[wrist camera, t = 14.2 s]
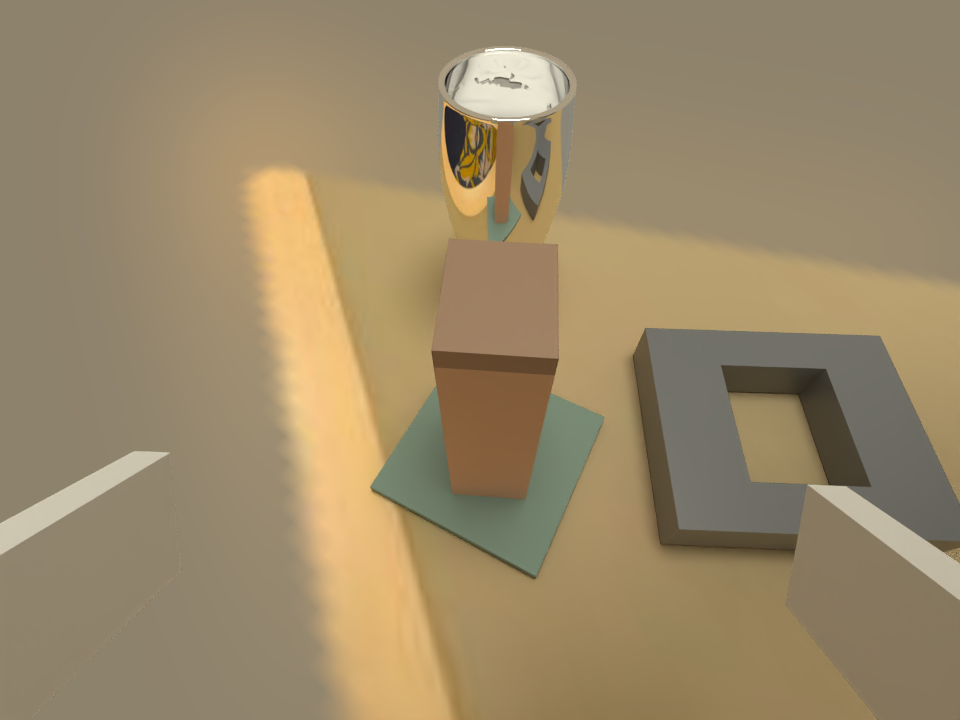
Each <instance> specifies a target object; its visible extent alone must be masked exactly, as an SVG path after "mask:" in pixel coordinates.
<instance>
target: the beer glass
mask: <svg viewBox="0 0 960 720" xmlns="http://www.w3.org/2000/svg"><path fill="white" fill-rule="evenodd" d="M438 89H439V110H438V147H439V163H440V172H441V182H442V187H443V192H444V197H445V201H446V206H447V209H448V213H449V217H450V220H451V224H452V227H453V230H454V234H455V237H456V239H467V240H485V241H503V242H522V243H540V244H544V241H545V239H546V236H547V234H548V231H549V229H550V226H551V224H552V221H553V218H554V216H555V213H556V210H557V207H558V204H559V201H560V198H561V195H562V192H563V188H564V183H565V179H566V174H567V169H568V163H569V156H570V149H571V140H572V128H573V116H574V115H573V114H574V101H575V93H576V89H577V83H576V79H575V76H574V74H573V72H572V71H571V70H570V68H569V67H568V66H567V65H565V64H564V63H563V62H562V61H560V60H559V59H557V58H555V57H553V56H551V55H549V54H547V53H544V52H541V51H538V50H534V49H529V48H524V47H514V46H496V47H487V48H481V49H477V50H473V51H470V52H467V53H465V54H462V55H460V56H458V57H456V58H455V59H453V60H452V61H450V62H449V63H448V64H447V65H446V66H445V67H444V68H443V70H442V71H441V73H440V75H439V79H438Z"/></svg>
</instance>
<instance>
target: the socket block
mask: <svg viewBox="0 0 960 720" xmlns="http://www.w3.org/2000/svg"><path fill="white" fill-rule="evenodd" d="M633 358H634V365H635V372H636V379H637V385H638V392H639V399H640V406H641V413H642V420H643V427H644V434H645V441H646V447H647V454H648V461H649V468H650V475H651V482H652V489H653V496H654V502H655V509H656V516H657V523H658V530H659V537H660V544H668V545H691V546H714V547H736V548H759V549H782V550H795V549H796V544H797V538H798V533H799V527H800V522H801V516H802V511H803V505H804V500H805V494H806V489H807V484H785V483H760V482H750V478H749V474H748V470H747V466H746V462H745V458H744V454H743V450H742V446H741V442H740V438H739V434H738V431H737V427H736V423H735V419H734V415H733V411H732V407H731V403H730V399H729V395H728V392H753V393H781V394H799V397H800V400H801V402H802V405H803V408H804V411H805V414H806V417H807V420H808V423H809V426H810V429H811V432H812V435H813V438H814V441H815V444H816V446H817V449H818V452H819V455H820V458H821V461H822V464H823V467H824V470H825V473H826V476H827V479H828V482H829V485H828V486H846V487H848V488H849V489H851V490H852V491H854V492H855V493H857V494H858V495H860V496H861V497H863V498H864V499H865V500H867V501H868V502H870V503H871V504H873V505H874V506H876V507H877V508H879V509H880V510H882V511H883V512H885V513H886V514H888V515H889V516H891V517H892V518H893V519H895V520H896V521H898V522H899V523H901V524H902V525H904V526H905V527H907V528H908V529H910V530H911V531H913V532H914V533H916V534H917V535H918V536H920V537H921V538H923V539H924V540H926V541H927V542H929V543H930V544H932V545H933V546H935V547H936V548H938V549H939V550H941V551H942V552H945V551H949V550H952V549H956V548H959V547H960V504H959V502H958V500H957V498H956V495H955V493H954V491H953V489H952V487H951V485H950V483H949V481H948V479H947V476H946V474H945V472H944V470H943V468H942V466H941V464H940V462H939V460H938V457H937V455H936V453H935V451H934V449H933V447H932V445H931V443H930V441H929V438H928V436H927V434H926V432H925V430H924V428H923V426H922V424H921V422H920V419H919V417H918V415H917V413H916V411H915V409H914V407H913V405H912V403H911V400H910V398H909V396H908V394H907V392H906V390H905V388H904V386H903V384H902V381H901V379H900V377H899V375H898V373H897V371H896V369H895V367H894V365H893V362H892V360H891V358H890V356H889V354H888V352H887V350H886V348H885V346H884V343H883V341H882V339H881V337H880V336H868V335H838V334H808V333H778V332H748V331H718V330H688V329H658V328H645V330H644V333H643V335H642V337H641V339H640V341H639V343H638V346H637V348H636V350H635V352H634V354H633ZM808 485H809V484H808Z"/></svg>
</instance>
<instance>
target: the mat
mask: <svg viewBox="0 0 960 720" xmlns="http://www.w3.org/2000/svg"><path fill="white" fill-rule="evenodd" d="M603 420H604V416H601V415H599V414H597V413H594V412H592V411H590V410H588V409H585V408H583V407H581V406H578V405H576V404H574V403H572V402H569V401H567V400H565V399H562V398H560V397H558V396H555V395H553V394H551V393H550V398H549V402H548V406H547V410H546V415H545V419H544V423H543V427H542V432H541V436H540V440H539V444H538V449H537V453H536V457H535V461H534V466H533V470H532V474H531V478H530V482H529V487H528V491H527V495H526V499H512V498H499V497H486V496H473V495H460V494H452V489H451V482H450V475H449V468H448V461H447V454H446V447H445V441H444V434H443V427H442V420H441V413H440V406H439V399H438V392H437V386H436V387H435V388H434V390H433V391H432V393H431V395H430V396H429V398H428V399H427V401H426V402H425V404H424V405H423V407H422V408H421V410H420V411H419V413H418V414H417V416H416V418H415V419H414V421H413V422H412V424H411V425H410V427H409V428H408V430H407V431H406V433H405V434H404V436H403V437H402V439H401V440H400V442H399V444H398V445H397V447H396V448H395V450H394V451H393V453H392V454H391V456H390V457H389V459H388V460H387V462H386V463H385V465H384V467H383V468H382V470H381V471H380V473H379V474H378V476H377V477H376V479H375V480H374V482H373V483H372V485H371V486H370V487H371V489H372V491H374V492H376V493H378V494H380V495H382V496H384V497H385V498H387V499H389V500H391V501H393V502H395V503H396V504H398V505H400V506H402V507H404V508H406V509H408V510H409V511H411V512H413V513H415V514H417V515H419V516H421V517H422V518H424V519H426V520H428V521H430V522H432V523H433V524H435V525H437V526H439V527H441V528H443V529H445V530H446V531H448V532H450V533H452V534H454V535H456V536H458V537H459V538H461V539H463V540H465V541H467V542H469V543H471V544H472V545H474V546H476V547H478V548H480V549H482V550H483V551H485V552H487V553H489V554H491V555H493V556H495V557H496V558H498V559H500V560H502V561H504V562H506V563H508V564H509V565H511V566H513V567H515V568H517V569H519V570H520V571H522V572H524V573H526V574H528V575H530V576H532V577H533V578H536V576H537V574H538V571H539V569H540V567H541V564H542V562H543V560H544V557H545V555H546V553H547V550H548V548H549V546H550V543H551V541H552V539H553V536H554V534H555V532H556V529H557V527H558V525H559V522H560V520H561V518H562V515H563V513H564V511H565V508H566V506H567V504H568V501H569V499H570V497H571V494H572V492H573V490H574V487H575V485H576V483H577V480H578V478H579V476H580V473H581V471H582V469H583V466H584V464H585V462H586V459H587V457H588V455H589V452H590V450H591V448H592V445H593V443H594V441H595V438H596V436H597V434H598V431H599V429H600V427H601V424H602V422H603Z"/></svg>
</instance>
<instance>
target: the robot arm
mask: <svg viewBox="0 0 960 720" xmlns="http://www.w3.org/2000/svg"><path fill="white" fill-rule="evenodd" d="M181 570H182V569H181V559H180V548H179V538H178V528H177V519H176V508H175V498H174V487H173V477H172V467H171V457H170V453H165V452H145V451H134V452H132V453H130V454H128V455H126V456H124V457H123V458H121V459H119V460H117V461H115V462H113V463H112V464H110V465H108V466H106V467H104V468H102V469H100V470H98V471H97V472H95V473H93V474H91V475H89V476H87V477H86V478H84V479H82V480H80V481H78V482H76V483H74V484H73V485H71V486H69V487H67V488H65V489H63V490H61V491H59V492H58V493H56V494H54V495H52V496H50V497H48V498H46V499H45V500H43V501H41V502H39V503H37V504H35V505H33V506H32V507H30V508H28V509H26V510H24V511H23V512H21V513H19V514H17V515H15V516H13V517H11V518H9V519H8V520H6V521H4V522H2V523H0V720H30V719H31V718H32V717H33V716H34V715H35V714H36V713H37V712H38V711H39V710H40V709H41V708H42V707H43V706H44V705H45V704H46V703H47V702H48V701H49V700H50V699H51V698H52V697H53V696H54V695H55V694H56V693H57V692H58V691H59V690H60V689H61V688H62V687H63V686H64V685H65V684H66V683H67V682H68V681H69V680H70V679H71V678H72V677H73V676H74V675H76V674H77V673H78V672H79V671H80V670H81V669H82V668H83V667H84V666H85V665H86V664H87V663H88V662H89V661H90V660H91V659H92V657H94V656H95V654H97V653H98V652H99V651H100V650H101V649H102V648H103V647H104V646H105V645H106V644H107V643H108V642H109V641H110V640H111V639H112V638H113V637H114V636H115V635H116V634H117V633H118V632H119V631H120V630H121V629H122V628H123V627H124V626H125V625H126V624H127V623H128V622H129V621H130V620H131V619H132V618H133V617H134V616H135V615H136V614H137V613H138V612H139V611H140V610H141V609H142V608H143V607H144V606H145V605H146V604H147V603H148V602H149V601H150V600H151V599H152V598H153V597H154V596H155V595H156V594H157V593H159V591H160V590H162V588H163V587H165V586H166V585H167V584H168V583H169V582H170V581H171V580H172V579H173V578H174V577H175V576H176V574H178V573H179V572H180V571H181ZM785 605H786V606H787V607H788V608H789V610H790V611H791V612H792V613H793V615H794V616H795V617H796V618H797V620H798V621H799V622H800V623H801V625H802V626H803V627H804V628H805V630H806V631H807V632H808V633H809V634H810V636H811V637H812V638H813V639H814V641H815V642H816V643H817V644H818V646H819V647H820V648H821V649H822V651H823V652H824V653H825V654H826V656H827V657H828V658H829V659H830V661H831V662H832V663H833V664H834V666H835V667H836V668H837V669H838V671H839V672H840V673H841V674H842V675H843V677H844V678H845V679H846V680H847V682H848V683H849V684H850V685H851V687H852V688H853V689H854V690H855V692H856V693H857V694H858V695H859V697H860V698H861V699H862V700H863V702H864V703H865V704H866V705H867V707H868V708H869V709H870V710H871V712H872V713H873V714H874V715H875V716H876V718H877V719H878V720H960V563H958V562H957V561H955V560H954V559H952V558H951V557H949V556H948V555H946V554H945V553H944V552H942V551H941V550H939V549H938V548H936V547H935V546H933V545H932V544H930V543H929V542H927V541H926V540H924V539H923V538H921V537H920V536H918V535H917V534H916V533H914V532H913V531H911V530H910V529H908V528H907V527H905V526H904V525H902V524H901V523H899V522H898V521H896V520H895V519H893V518H892V517H891V516H889V515H888V514H886V513H885V512H883V511H882V510H880V509H879V508H877V507H876V506H874V505H873V504H871V503H870V502H868V501H867V500H865V499H864V498H863V497H861V496H860V495H858V494H857V493H855V492H854V491H852V490H851V489H849V488H848V487H846V486H828V485H808V484H807V489H806V494H805V500H804V505H803V511H802V516H801V522H800V527H799V533H798V538H797V544H796V549H795V555H794V560H793V566H792V571H791V577H790V582H789V588H788V593H787V599H786V604H785Z"/></svg>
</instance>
